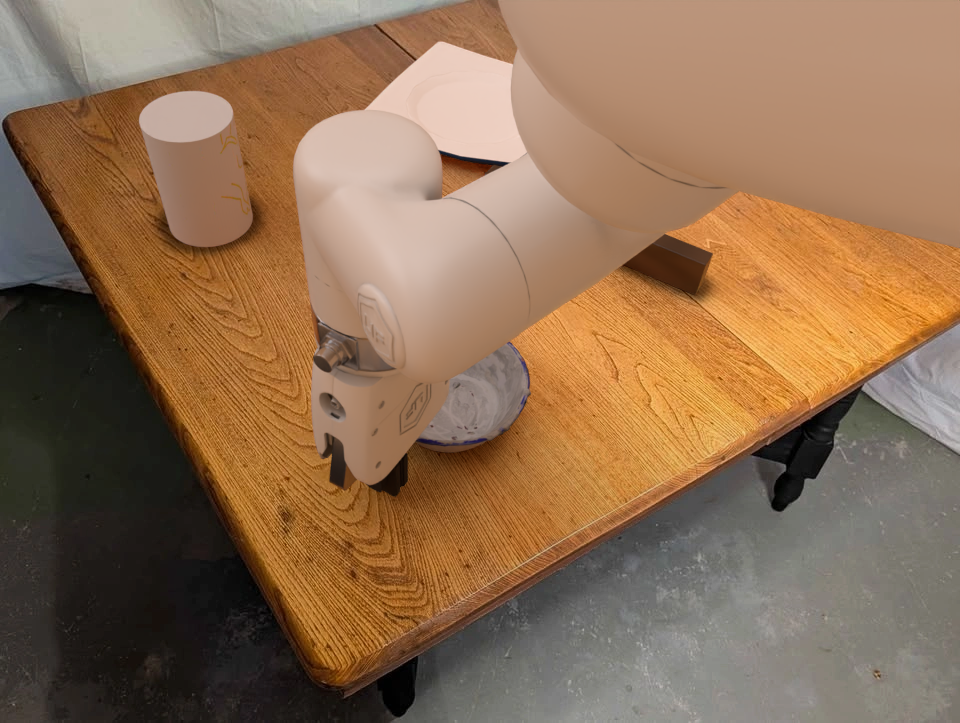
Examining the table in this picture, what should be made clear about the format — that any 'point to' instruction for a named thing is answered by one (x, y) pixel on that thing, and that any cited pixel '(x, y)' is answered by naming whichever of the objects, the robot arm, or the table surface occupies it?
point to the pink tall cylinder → (198, 167)
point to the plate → (458, 104)
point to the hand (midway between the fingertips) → (385, 480)
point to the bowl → (480, 403)
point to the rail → (670, 261)
